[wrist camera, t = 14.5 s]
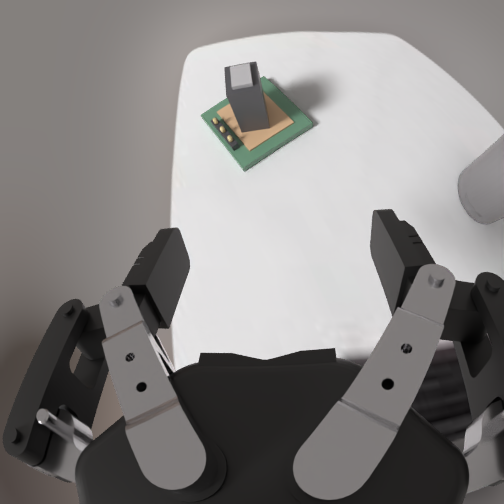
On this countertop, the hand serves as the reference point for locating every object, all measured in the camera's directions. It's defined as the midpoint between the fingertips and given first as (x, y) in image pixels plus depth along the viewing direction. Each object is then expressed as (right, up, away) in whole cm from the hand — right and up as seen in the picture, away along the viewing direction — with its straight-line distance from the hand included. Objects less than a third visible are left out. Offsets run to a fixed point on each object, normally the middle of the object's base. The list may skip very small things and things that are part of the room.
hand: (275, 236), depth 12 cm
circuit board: (0, +19, +29) cm, 34 cm away
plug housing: (-1, +19, +27) cm, 33 cm away
